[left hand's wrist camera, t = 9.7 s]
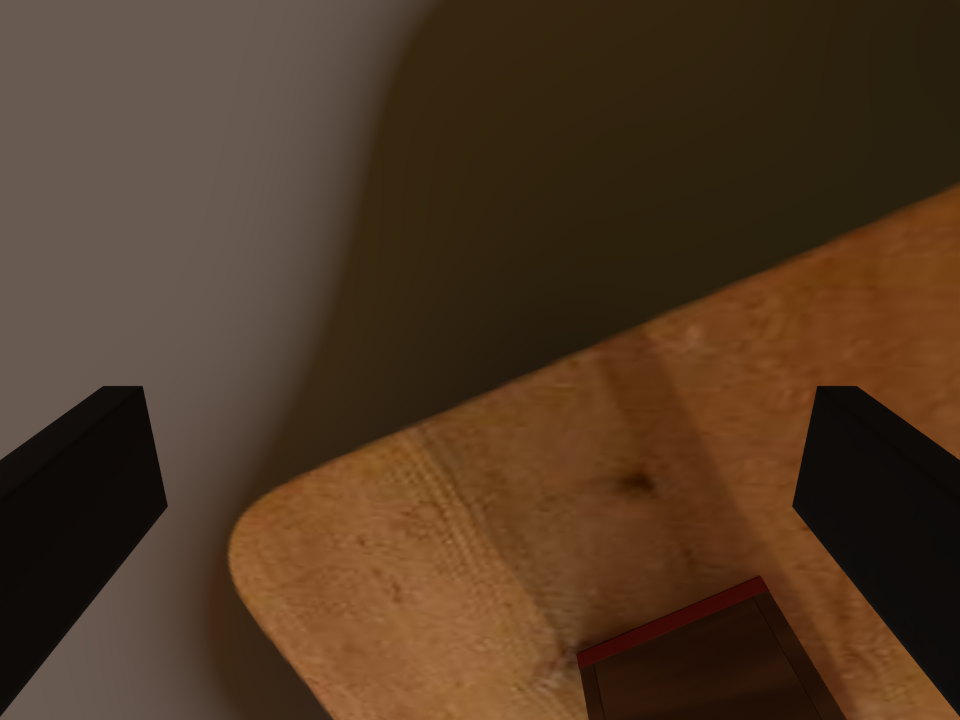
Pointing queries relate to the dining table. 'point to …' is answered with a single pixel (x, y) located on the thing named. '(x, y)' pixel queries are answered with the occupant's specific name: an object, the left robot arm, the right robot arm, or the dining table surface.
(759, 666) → the chest
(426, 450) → the dining table surface
